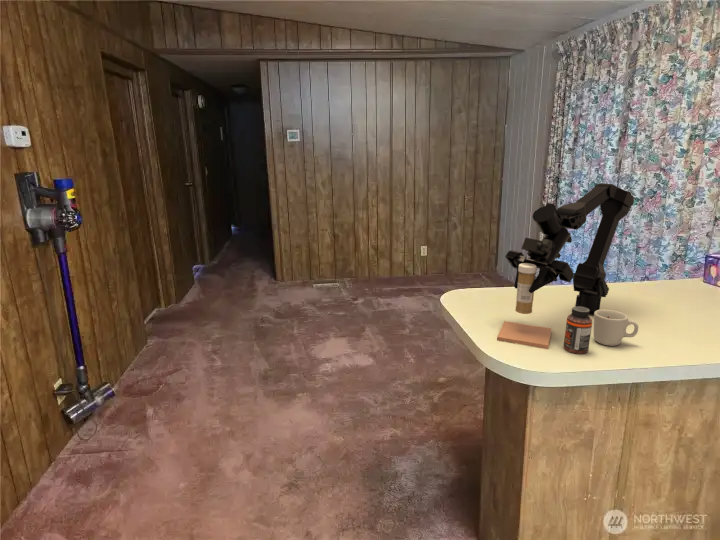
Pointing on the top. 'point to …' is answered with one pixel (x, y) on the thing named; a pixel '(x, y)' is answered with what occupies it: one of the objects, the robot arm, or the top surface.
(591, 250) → the robot arm
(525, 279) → the sprinkles bottle
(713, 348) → the top surface
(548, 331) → the terracotta tile
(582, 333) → the supplement bottle
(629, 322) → the cup
